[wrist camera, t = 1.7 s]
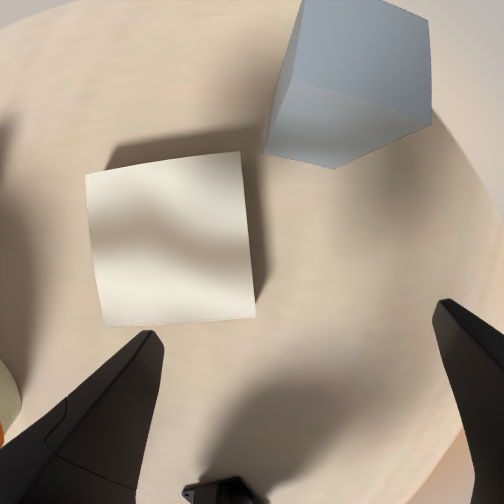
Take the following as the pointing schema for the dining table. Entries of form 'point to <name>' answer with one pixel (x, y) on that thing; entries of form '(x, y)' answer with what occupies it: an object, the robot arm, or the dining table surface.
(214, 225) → the plinth
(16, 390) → the reusable coffee cup
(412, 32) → the slate block
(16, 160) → the dining table surface
